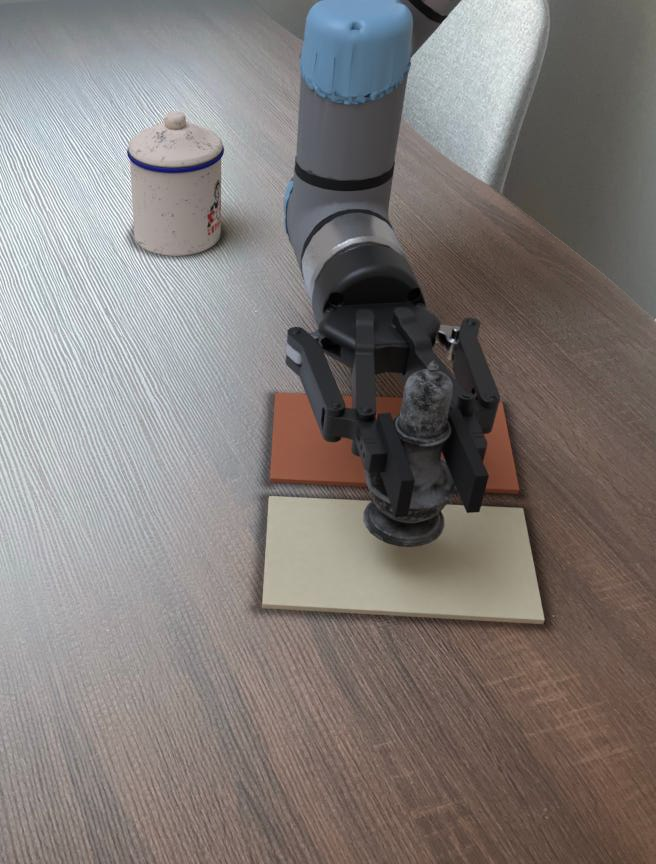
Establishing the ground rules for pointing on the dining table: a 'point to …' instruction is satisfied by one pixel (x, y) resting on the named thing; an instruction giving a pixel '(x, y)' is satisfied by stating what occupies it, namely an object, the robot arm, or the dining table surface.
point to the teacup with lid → (176, 187)
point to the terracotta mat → (335, 463)
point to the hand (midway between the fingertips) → (441, 496)
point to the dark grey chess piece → (417, 464)
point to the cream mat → (399, 564)
